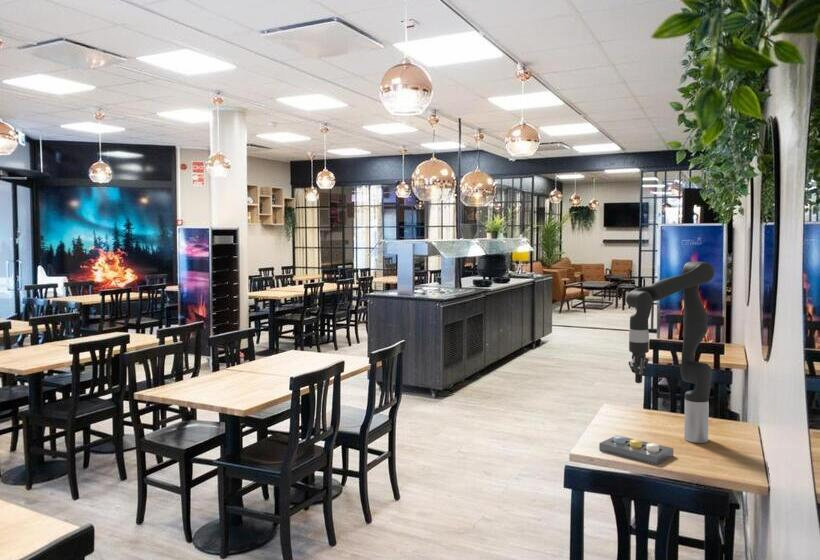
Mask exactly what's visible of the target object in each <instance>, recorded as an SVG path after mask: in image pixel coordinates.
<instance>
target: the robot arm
mask: <svg viewBox="0 0 820 560" xmlns="http://www.w3.org/2000/svg"><path fill="white" fill-rule="evenodd" d="M714 275H715V269H714V267H713V265H712V264H710V263H709V262H706V261H687V262H686V263H685V264H684V265H683V268H682V271H681V274H678V275H675V276H671V277H666V278H663V279H661V280H658V281H656V282H654V283H652V284H650V285H647V286H642V287H639V288H635V289H633V290H631V291H629V292H628V294H627V295H626V296H625V297H626V298H625V302H626V304H627V306H629V307H631V308H633V309H636V312H635V313H634V314H631V316H630V317H629V333H628V351H629V352H630V353H632V354H631V361H628V366H629V368H630V370H631V373H633V374H634V375H635V377H634V378H635V379H634V380H635V381H634V382H635V383H636V384H642V383H643V374H644V372H646V370H647V367H648V364H649V360H650V358H647V354H648V353H649V352H650V349H649V348H650V333H649V318H650V315H651V312H652V308H653V303H654V302H658V301H660V300H662V299H665V298H667V297H669V296H671V295H674V294H677V293H678V292H681V291H683V292H682V293H683V319H682V320H683V321H682V322H683V325H682V326H683V328H682V331H683V335H682V337H683V338H682V339H683V340H682V341H683V343H682V351H681V352H682V353H681V361H680V377H681V379H682V381H683V382H684V383H685V382H686V383H689V384H695V385H696V386H695V389H693V390H687V391H686V392H685V393H684V427H683V428H684V429H683V430H684V435H683V436H684V437H683V439H684V440H685V441H687V442H691V443H693V444H694V443H695V444H704V443H708V442H709V417H710V415H709V413H710V412H709V410H710V407H709V406H710V405H709V399H710V398H709V397H710V394H711V386H712V385H711V383H712V368H711V366H710V365H709V364H708V363H706V362H700V361H695V357H696V351H697V349H698V346H699V345H700V343H701V342H702V340H703V339H704V337H705V336H706V334H707V331H708V314H707V309H706V308H705V306H704V303H703V302H702V299H701V298H700V297H701V296H700V292H699V288H700V287H699V285H704V284H705V285H706V284H707V283H709V282H711V281H712V280H713V278H714Z"/></svg>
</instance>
